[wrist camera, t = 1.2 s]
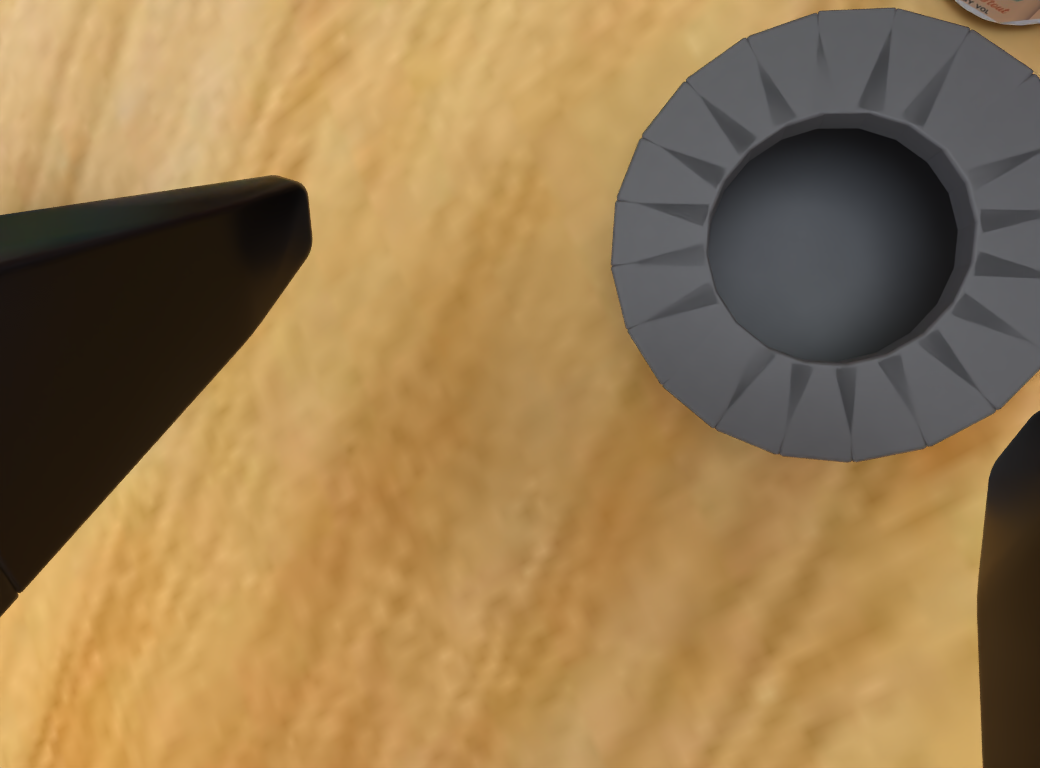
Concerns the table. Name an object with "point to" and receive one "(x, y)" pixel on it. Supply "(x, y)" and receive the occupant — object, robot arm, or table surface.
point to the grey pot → (839, 235)
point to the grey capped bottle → (1004, 10)
